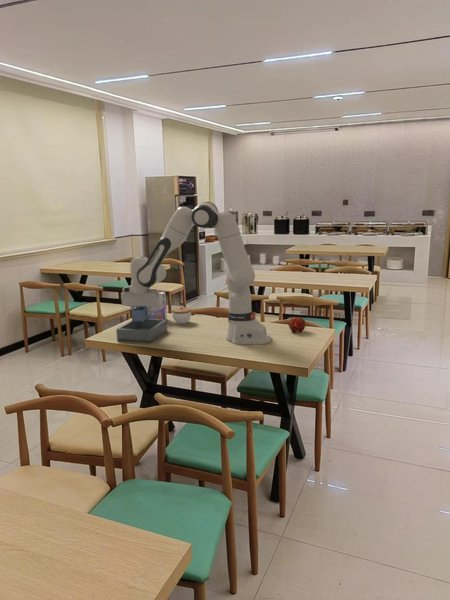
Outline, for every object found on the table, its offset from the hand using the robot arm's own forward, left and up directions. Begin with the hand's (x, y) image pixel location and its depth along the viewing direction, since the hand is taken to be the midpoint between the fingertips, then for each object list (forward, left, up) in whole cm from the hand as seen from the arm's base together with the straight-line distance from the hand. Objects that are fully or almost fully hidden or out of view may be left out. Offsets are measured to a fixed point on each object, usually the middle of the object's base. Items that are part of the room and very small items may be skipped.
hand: (141, 314), depth 243 cm
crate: (0, 0, -11) cm, 11 cm away
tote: (0, 0, -3) cm, 3 cm away
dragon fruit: (-77, -24, -12) cm, 82 cm away
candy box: (+7, -30, -12) cm, 33 cm away
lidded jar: (-11, -28, -12) cm, 32 cm away
